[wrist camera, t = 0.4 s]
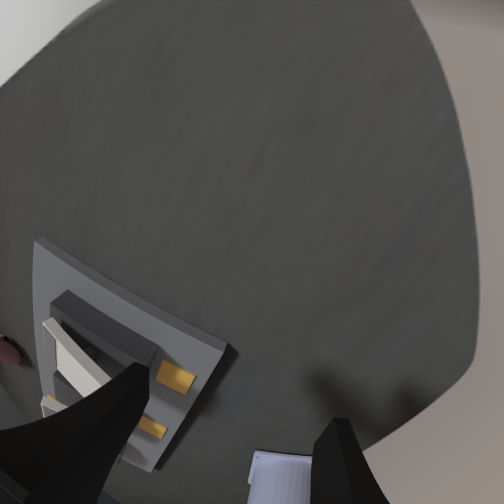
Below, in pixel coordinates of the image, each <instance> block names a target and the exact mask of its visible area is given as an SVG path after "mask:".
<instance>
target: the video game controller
mask: <svg viewBox="0 0 504 504" xmlns="http://www.w3.org/2000/svg"><path fill="white" fill-rule="evenodd" d="M0 360H2V361H4V362H7V363H9V364H12V365H17V364H18V363H20V361H21V354H20V352H19V351H18V350H17V349H16V348H15V347H14V346H13V345H11V344H9V343H7V342H5V335H3V334H0Z"/></svg>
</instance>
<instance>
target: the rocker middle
mask: <svg viewBox="0 0 504 504" xmlns="http://www.w3.org/2000/svg"><path fill="white" fill-rule="evenodd" d="M41 407H42V411H43V415H44V418H45V417H48V416H50V415H52V414H55V413H57V412H59V411H61V410H63V409H65V408H67V406H65V405H63V404H61V403H58V402H56V401H54V400H52V399H50V398H48V397H46V396H44V397H43V399H42V401H41Z"/></svg>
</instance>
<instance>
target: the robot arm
mask: <svg viewBox="0 0 504 504" xmlns="http://www.w3.org/2000/svg"><path fill="white" fill-rule="evenodd" d="M149 399H150V393H149V367H148V366H145V365H143V364H140V363H138V362H133V363H132V364H130V365H129V366H128V367H127V368H125V369H124V370H123V371H122V372H120V373H119V374H118V375H116V376H115V377H114V378H112V379H111V380H110V381H108V382H107V383H106V384H104V385H103V386H101V387H100V388H98V389H97V390H95V391H94V392H93V393H91V394H89V395H88V396H86V397H84V398H83V399H81V400H79V401H78V402H76V403H74V404H73V405H71V406H69V407H67V408H65V409H63V410H61V411H59V412H57V413H55V414H52V415H50V416H48V417H45V418H43V419H40V420H37V421H35V422H32V423H28V424H25V425H21V426H18V427H14V428H10V429H5V430H0V504H96V503H97V501H98V498H99V495H100V493H101V491H102V488H103V486H104V483H105V481H106V479H107V477H108V474H109V472H110V470H111V468H112V466H113V464H114V462H115V460H116V458H117V457H118V455H119V453H120V452H121V450H122V448H123V447H124V445H125V444H126V442H127V440H128V439H129V437H130V435H131V434H132V432H133V431H134V429H135V427H136V426H137V424H138V422H139V421H140V419H141V417H142V414H143V412H144V410H145V408H146V406H147V403H148V401H149ZM248 483H249V484H251V489H250V493H249V498H248V503H247V504H390V503H389V502H388V500H387V499H386V497H385V496H384V494H383V492H382V491H381V489H380V487H379V485H378V483H377V482H376V480H375V478H374V476H373V474H372V472H371V470H370V468H369V466H368V464H367V461H366V459H365V457H364V455H363V453H362V450H361V448H360V446H359V443H358V441H357V439H356V436H355V434H354V431H353V429H352V426H351V424H350V422H349V420H348V419H342V418H336V417H334V418H333V419H332V421H331V422H330V423H329V425H328V426H327V427H326V429H325V430H324V431H323V433H322V434H321V435H320V437H319V438H318V439H317V441H316V442H315V443H314V449H313V455H312V456H299V455H289V454H280V453H272V452H265V451H255V452H254V457H253V461H252V466H251V470H250V474H249V479H248Z"/></svg>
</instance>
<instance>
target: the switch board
mask: <svg viewBox="0 0 504 504" xmlns="http://www.w3.org/2000/svg"><path fill="white" fill-rule="evenodd" d="M33 315H34V330H35V341H36V351H37V359H38V366H39V373H40V379H41V385H42V391H43V396H46V397H48V398H50V399H52V400H54V401H56V402H58V403H61V404H63V405H65V406H67V407H69V406H71V405H73V404H74V403H76V402H78V401H79V400H81V399H83V398H84V397H83V396H82V395H81V394H80V393H79V392H78V391H77V390H76V389H75V388H74V387H73V386H72V385H71V383H70V382H69V381H68V380H67V379H66V378H65V377H64V376H63V375H62V374H61V372H60V371H59V370H58V369H57V368H56V367H55V366H54V365H53V364H52V363H51V361H50V360H49V359H48V358H47V357H46V355H45V352H44V339H43V321H45V320H47V319H49V318H51V317H53V318H54V320H55V321H56V322H57V323H58V324H59V325H60V327H61V328H62V329H63V330H64V331H65V332H66V333H67V334H68V335H69V337H70V338H71V339H72V340H73V341H74V342H75V343H76V344H77V345H78V346H79V347H80V348H81V349H82V350H83V351H84V352H85V353H86V354H87V355H88V356H89V357H90V358H91V359H92V360H93V361H94V362H95V363H96V364H97V365H98V366H99V367H100V368H101V369H102V370H103V371H104V372H105V373H106V374H107V375H108V376H109V377H110V378H111V379H112V378H114V377H115V376H116V375H118V374H119V373H120V372H122V371H123V370H124V369H125V368H127V367H128V366H129V365H130V364H132V363H133V362H138V363H140V364H143V365H145V366H148V367H149V393H150V399H149V401H148V403H147V406H146V408H145V410H144V412H143V414H142V417H141V419H140V421H139V422H138V424H137V426H136V427H135V429H134V431H133V432H132V434H131V435H130V437H129V439H128V440H127V442H126V444H125V445H124V447H123V448H122V450H121V452H120V453H119V455H118V457H117V458H116V460H115V462H114V465H116V466H117V465H118V463H119V462H120V460H121V458H122V459H124V460H126V461H128V462H129V463H131V464H133V465H135V466H137V467H139V468H141V469H144V470H146V471H148V472H151V471H152V469H153V468H154V466H155V464H156V463H157V461H158V460H159V458H160V457H161V455H162V453H163V452H164V450H165V449H166V447H167V445H168V444H169V442H170V441H171V439H172V437H173V436H174V434H175V433H176V431H177V429H178V428H179V426H180V424H181V423H182V421H183V420H184V418H185V416H186V415H187V413H188V411H189V410H190V408H191V406H192V405H193V403H194V401H195V400H196V398H197V397H198V395H199V393H200V392H201V390H202V388H203V387H204V385H205V383H206V382H207V380H208V378H209V377H210V375H211V373H212V371H213V370H214V368H215V366H216V365H217V363H218V361H219V360H220V358H221V356H222V355H223V353H224V350H225V348H226V345H227V342H226V341H224V340H222V339H219V338H217V337H215V336H213V335H211V334H209V333H207V332H205V331H203V330H201V329H199V328H197V327H195V326H193V325H191V324H189V323H187V322H185V321H183V320H182V319H180V318H178V317H176V316H174V315H172V314H170V313H168V312H166V311H165V310H163V309H161V308H159V307H157V306H155V305H154V304H152V303H150V302H148V301H146V300H145V299H143V298H141V297H139V296H137V295H136V294H134V293H132V292H131V291H129V290H127V289H125V288H124V287H122V286H120V285H119V284H117V283H115V282H114V281H112V280H110V279H109V278H107V277H105V276H104V275H102V274H100V273H99V272H97V271H96V270H94V269H92V268H91V267H89V266H88V265H86V264H84V263H83V262H81V261H80V260H78V259H77V258H75V257H74V256H72V255H70V254H69V253H67V252H66V251H64V250H63V249H61V248H60V247H58V246H57V245H56V244H54V243H53V242H51V241H50V240H48V239H47V238H45V237H44V236H42V237H40V238H38V239H36V240H34V250H33Z"/></svg>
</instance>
